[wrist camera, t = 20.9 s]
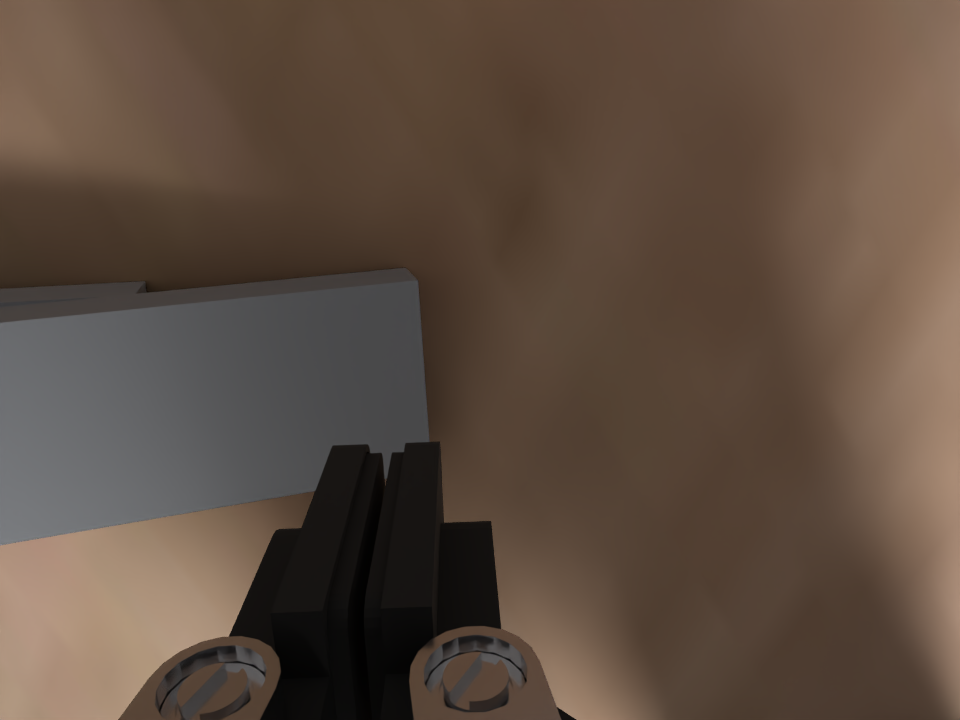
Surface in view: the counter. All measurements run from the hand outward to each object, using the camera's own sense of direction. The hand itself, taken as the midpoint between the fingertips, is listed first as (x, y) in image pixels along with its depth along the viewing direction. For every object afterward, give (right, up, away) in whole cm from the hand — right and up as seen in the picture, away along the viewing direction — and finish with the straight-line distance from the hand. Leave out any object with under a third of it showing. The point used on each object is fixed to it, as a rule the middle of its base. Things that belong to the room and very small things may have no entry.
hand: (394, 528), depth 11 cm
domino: (0, +2, +7) cm, 7 cm away
